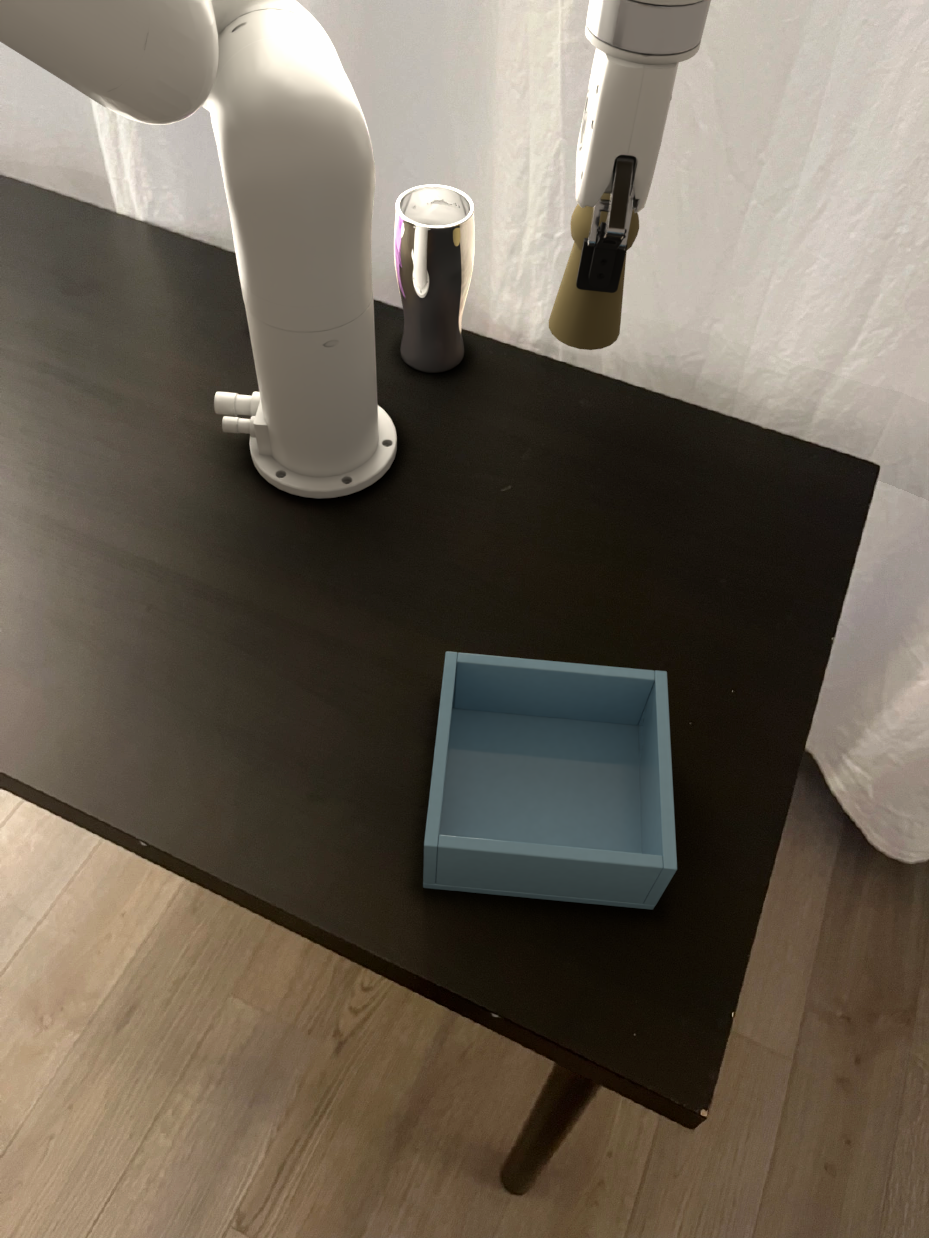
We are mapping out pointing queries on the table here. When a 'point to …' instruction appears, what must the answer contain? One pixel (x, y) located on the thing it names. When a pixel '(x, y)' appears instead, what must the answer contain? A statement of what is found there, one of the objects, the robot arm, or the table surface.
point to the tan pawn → (588, 293)
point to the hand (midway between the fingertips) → (596, 264)
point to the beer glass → (433, 273)
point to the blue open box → (551, 782)
